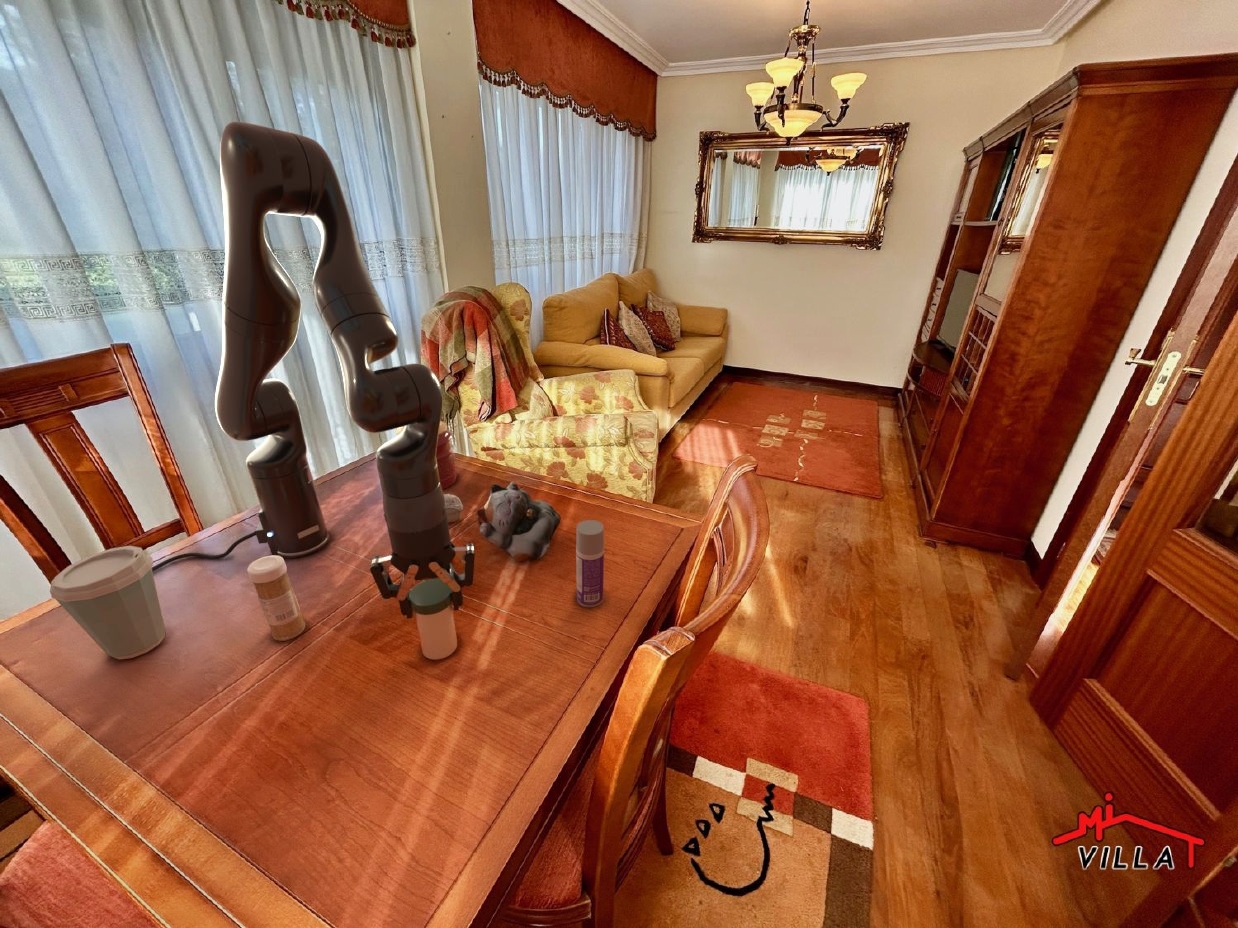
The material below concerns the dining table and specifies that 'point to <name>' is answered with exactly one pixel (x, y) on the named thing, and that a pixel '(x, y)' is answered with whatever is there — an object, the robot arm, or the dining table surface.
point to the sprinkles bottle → (276, 597)
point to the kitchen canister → (443, 456)
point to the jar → (437, 633)
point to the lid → (430, 597)
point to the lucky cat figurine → (517, 522)
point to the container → (590, 563)
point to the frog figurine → (452, 507)
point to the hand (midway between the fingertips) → (433, 610)
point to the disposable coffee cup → (114, 600)
